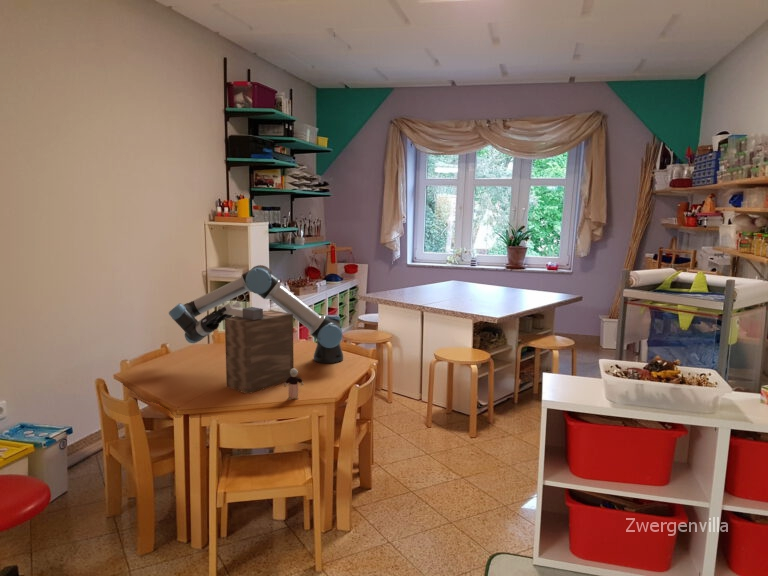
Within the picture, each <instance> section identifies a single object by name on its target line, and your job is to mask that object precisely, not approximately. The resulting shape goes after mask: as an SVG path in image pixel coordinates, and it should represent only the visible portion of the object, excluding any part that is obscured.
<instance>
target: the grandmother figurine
mask: <svg viewBox="0 0 768 576" xmlns="http://www.w3.org/2000/svg"><path fill="white" fill-rule="evenodd" d="M290 374H291V376H292V377H289V378H288V379H287V381H286V382H284V387H285V388H286V387H287V386H288V397H287V398H286V399H287V401H288V400H289V401H291V400H299V384H300V385H301V386H304V382H303V379H302V378H300V377H299V376H298V374H299V371H298V369H296V368H295V367H294V368H293V369H291V370H290ZM288 384H289V385H288Z"/></svg>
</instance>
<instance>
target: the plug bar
mask: <svg viewBox="0 0 768 576" xmlns="http://www.w3.org/2000/svg"><path fill="white" fill-rule="evenodd" d="M225 305H226V304H225ZM225 305H223V304H221V305H218V306H217V311H218V310H219V309H221V308H223V307H224V306H225ZM231 306H232V305H231ZM263 311H264V308H259V307H253V306H250V307H242V306H241V307H235V306H232V309H231V310H229V311H228V312H227V313H225V314H228V315H233V316H232V317H234V316H238V317H243V318H246V319H251V320H256V319H262V318H263Z"/></svg>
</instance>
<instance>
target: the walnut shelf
mask: <svg viewBox="0 0 768 576" xmlns="http://www.w3.org/2000/svg"><path fill="white" fill-rule="evenodd" d="M224 335H225V338H224V339H225V372H226V373H225V374H226V375H225V376H226V377H225V378H226V388H228V387H229V388H228V389H231V388H232V389H233V390H235V391H238V390H239V391H238V392H241V391H242V392H241V393H244V392H245V394H247V395H248V393H249V394H251V392H252V393H254V392H255V393H256V392H257V391H260V390H264V389H266V388H270V386H271V387H273V385H274V386H276V385H279V384H282V383H283V384H284V383H285V382H286V381H287V379H288V378H289V377H292V376H291V374H290V370H291V369H293V368H295V367H294V366H295V365H294V359H295V358H294V318H293V314H291V313H287V312H286V311H279V310H273V309H271V310H263V318H262V319H256V320H251V319H246V318H243V317H238V316H232V317H230V318H225V320H224ZM263 388H264V389H263Z"/></svg>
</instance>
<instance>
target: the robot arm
mask: <svg viewBox="0 0 768 576" xmlns="http://www.w3.org/2000/svg"><path fill="white" fill-rule="evenodd" d="M246 292H249V293H253V294H256V295H257V296H260V297H261V298H262V299H263V300H270V301H271V302H272V303H274V304H275V305H276V306H277V307H279V308H280V309H281V310H283V312H285V313H291V314H293V319H295V320H296V321H297V322H299V323H300V324H302V326H304V328H307V330H308V331H309V334H310V336H312V337H313V338H314V339H316V348H315V351H314V353H313V360H314V362H317V363H320V364H335V362H336V363H339V361H340V362H342V361H343V360H344V352H343V350H342V347H341V341H342V340H343V331H342V329H341V316H340V315H336V314H324V315H323V314H322V315H320V314H319V313H318V312H316V311H315V310H314V309H313V308H312V307H310V306H309V305H308V304H306V303H305V302H304V301H302V300H301V299H300V298H298V297H297V296H296V295H295V294H293V293H292V292H291V291H289V290H288V289H287V288H286V287H285V286H283V285H282V284H281V279H280V278H278V277H277V276H275V275H274V274H273V273H272V270H271V269H270V268H269V267H267V265H266V266H265V265H261V264H258V265H255V266H253V267H252V268H251V269H250V270H248V271H246V272H244V273H242V274H241V276H240V277H239V278H236V279H234V280H232V281H231V282H228V283H227V284H224V285H223V286H220V287H219V288H216V289H214V290H212V291H210V292H208V293H206V294H204V295H202V296H200V297H198V298H196V299H194V300H191V301H190V302H186V303H184V304H183V303H178V304H176V305H175V306H174V307H173V308H172V309H170V310H169V311H168V315H169V316H170V317H171V319H172V320H173V321H174V322H175V323H176V324H177V325H178V326H179V327H180V328H181V329H182V330H183V332H184V338H185V340H186V342H188V343H189V344H196V343H198V342H201V341H202V340H203V339H205V338H206V337H209V335H210V334H211V333H213V332H214V331H216V330H217V329H218V328H219V326H220V324H221V323H222V322H223V321H225V318H230V317H234V316H233V315H228V314H225V313H227V312H228V311H229V310H231V309H232V306H235V307H241V308H242V305H241V303H240V300H238V301H237V302H235V303H233V304H231V302H228V301H231V300H233V299H235V298H237V297H239V296H241V295H243V294H245V293H246ZM226 302H228V303H226ZM225 303H226V304H225ZM223 304H225V306H224V307H223V308H221V309H219V310H218V309H217V310H216V309H215V310H213V311H212V312H210V313H209V314H207V315H205V316H204V317H203V318H201V319H200V320H197V317H198V316H200V315H202V314H203V313H204V314H205V313H206V312H208V311H210V310H211V309H214V308H216V307H219V306H221V305H223Z"/></svg>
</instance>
